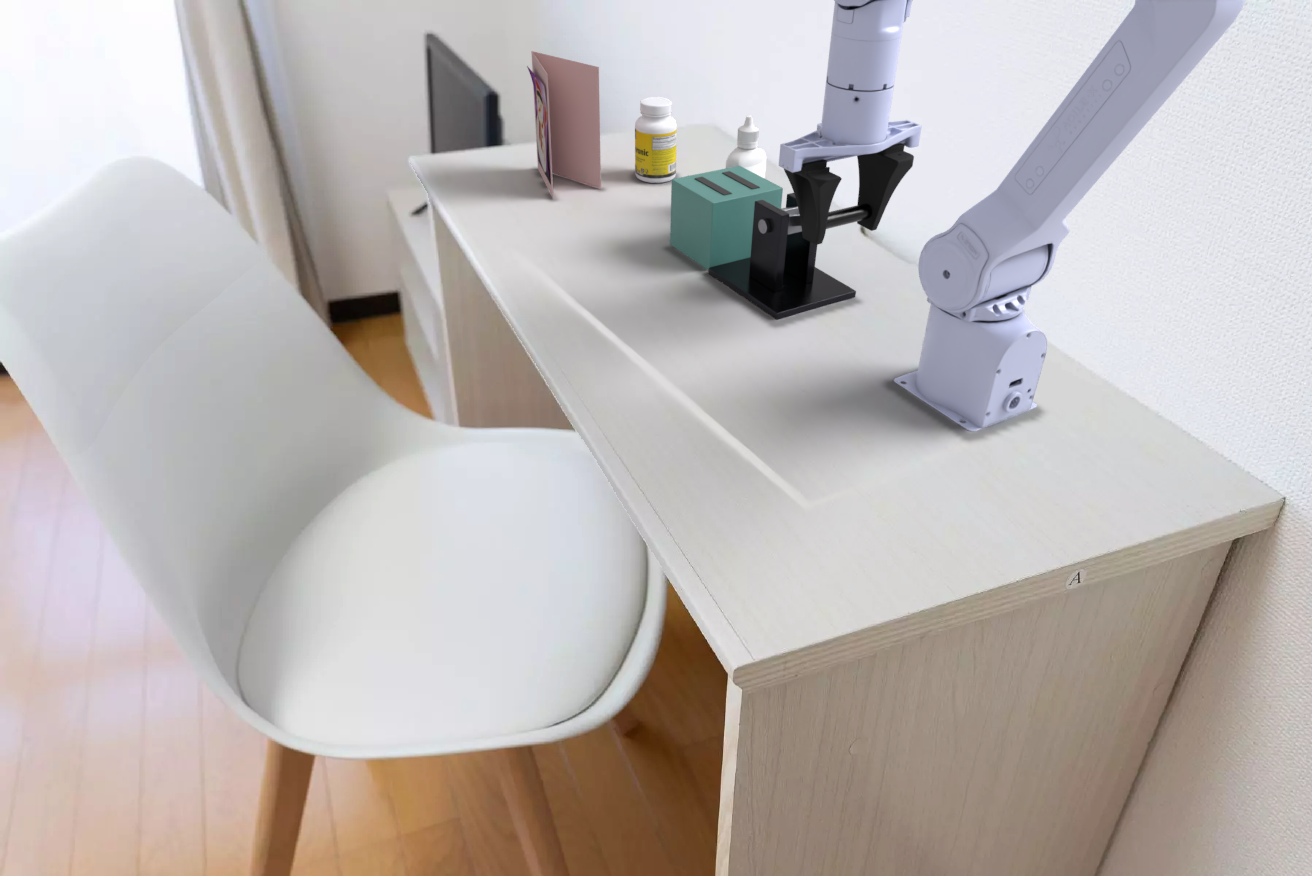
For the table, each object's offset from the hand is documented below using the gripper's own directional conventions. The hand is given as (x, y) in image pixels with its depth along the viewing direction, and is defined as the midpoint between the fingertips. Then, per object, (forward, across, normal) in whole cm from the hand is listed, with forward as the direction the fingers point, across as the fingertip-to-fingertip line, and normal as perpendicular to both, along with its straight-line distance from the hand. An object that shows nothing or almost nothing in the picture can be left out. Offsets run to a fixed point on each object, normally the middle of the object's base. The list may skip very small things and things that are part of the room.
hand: (840, 233), depth 90 cm
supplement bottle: (+9, -6, -43) cm, 44 cm away
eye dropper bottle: (+9, -8, -26) cm, 29 cm away
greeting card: (+9, +5, -47) cm, 48 cm away
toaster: (+9, 0, -18) cm, 21 cm away
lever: (+1, 0, -4) cm, 4 cm away
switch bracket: (+9, 0, -8) cm, 12 cm away
